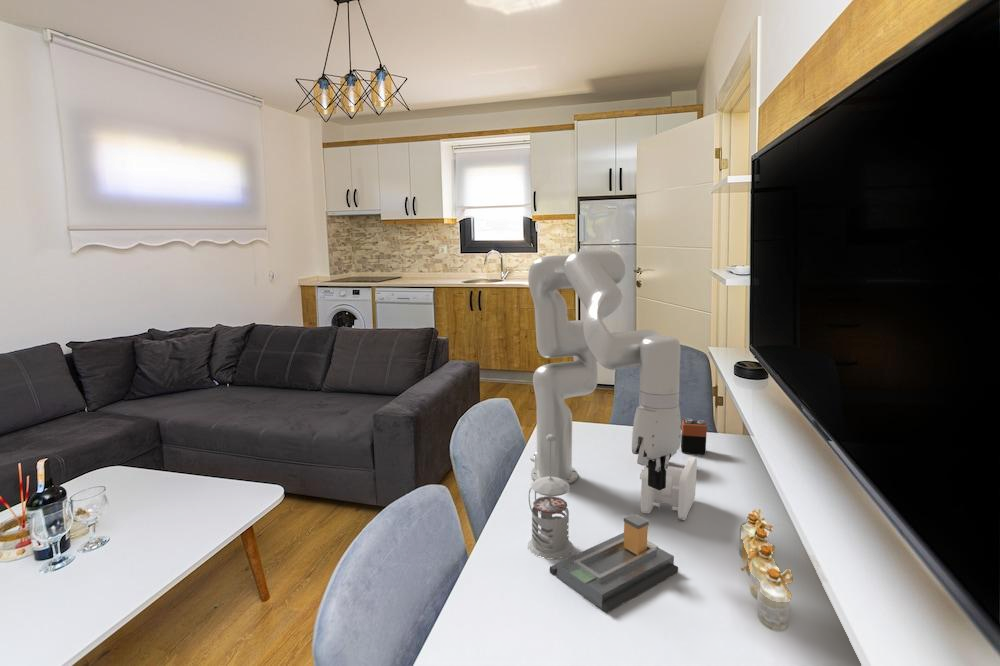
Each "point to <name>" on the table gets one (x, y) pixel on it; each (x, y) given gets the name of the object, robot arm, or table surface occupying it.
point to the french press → (550, 517)
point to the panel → (611, 569)
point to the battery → (693, 436)
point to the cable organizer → (671, 489)
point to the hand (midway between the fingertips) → (656, 487)
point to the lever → (635, 533)
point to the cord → (553, 569)
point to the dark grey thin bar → (639, 588)
